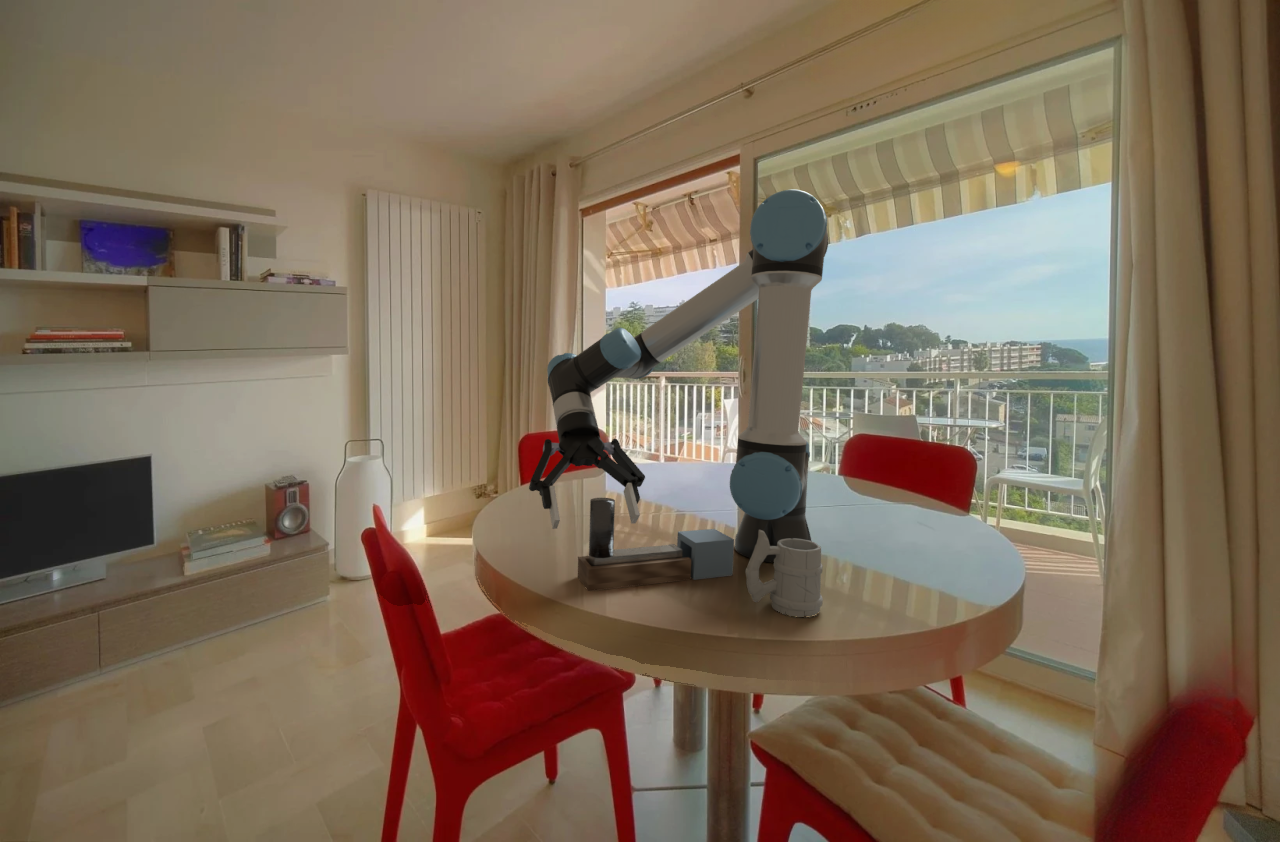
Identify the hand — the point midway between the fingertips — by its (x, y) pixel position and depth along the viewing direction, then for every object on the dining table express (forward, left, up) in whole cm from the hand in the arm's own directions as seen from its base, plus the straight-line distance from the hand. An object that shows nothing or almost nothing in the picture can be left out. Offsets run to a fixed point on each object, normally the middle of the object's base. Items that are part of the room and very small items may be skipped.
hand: (597, 522), depth 92 cm
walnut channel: (-7, +1, -10) cm, 12 cm away
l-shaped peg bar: (-7, +1, -9) cm, 11 cm away
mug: (-24, +19, -10) cm, 32 cm away
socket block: (-20, +1, -10) cm, 22 cm away
